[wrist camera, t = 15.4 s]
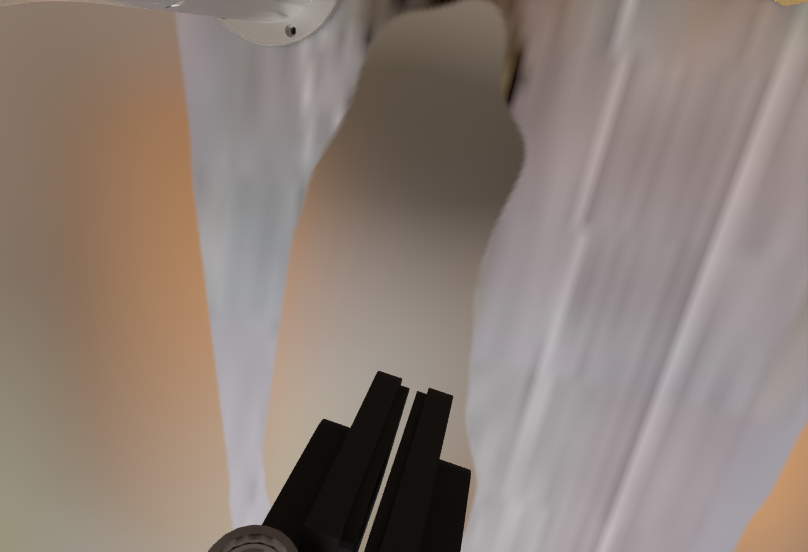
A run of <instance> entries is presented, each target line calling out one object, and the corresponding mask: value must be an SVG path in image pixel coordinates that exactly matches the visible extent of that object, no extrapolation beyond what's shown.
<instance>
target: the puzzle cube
mask: <svg viewBox="0 0 808 552" xmlns="http://www.w3.org/2000/svg"><path fill="white" fill-rule="evenodd" d="M774 1H776V2H777V3H779V4H781V5H783V6H789V5H794V4H799V3H804V2H808V0H774Z"/></svg>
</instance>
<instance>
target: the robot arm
mask: <svg viewBox="0 0 808 552" xmlns="http://www.w3.org/2000/svg"><path fill="white" fill-rule="evenodd" d="M35 1H77V2H89V3H100V4H109V5H118V6H127V7H136V8H145V9H153V10H162V11H170V12H179V13H187V14H196V15H204V16H213V17H215V18H216V19H217V20H218V21H219V22H220V23H221V24H222V25H223V26H224V27H226V28H227V29H228V30H229V31H231V32H232V33H234V34H236V35H237V36H239V37H240V38H242V39H245V40H247V41H250V42H253V43H255V44H261V45H267V46H284V45H290V44H295V43H298V42H300V41H302V40H305V39H307V38H309V37H311V36H312V35H313V34H315V33H316V32H317V31H319V30H320V29H322V27H323V26H324V25H325V24H326V23H327V22H328V21H329V20H330V19H331V17H332V16H333V14H334V13H335V11H336V9H337V8H338V6H339V4H340V3H341V1H342V0H0V7H2V6H7V5H13V4H18V3H27V2H35ZM293 28H296V34H295V35H294V34H293ZM401 382H402V378H399V377H396V376H393V375H390V374H387V373H384V372H381V371H378V372H377V374H376V376H375V378H374V380H373V382H372V384H371V387H370V388H369V391H368V393H367V395H366V397H365V399H364V401H363V403H362V405H361V407H360V409H359V411H358V413H357V416H356V418H355V420H354V422H353V424H352V426H351V428H349V427H346V426H343V425H341V424H338V423H335V422H332V421H329V420H326V419H323V420H322V421H321V422H320V424H319V425H318V427H317V429H316V431H315V432H314V434H313V436H312V437H311V439H310V441H309V443H308V445H307V446H306V448H305V450H304V452H303V453H302V455H301V457H300V459H299V460H298V462H297V464H296V466H295V467H294V469H293V471H292V473H291V474H290V476H289V478H288V480H287V481H286V483H285V485H284V487H283V489H282V490H281V492H280V494H279V496H278V497H277V499H276V501H275V503H274V505H273V506H272V508H271V510H270V511H269V513H268V515H267V517H266V518H265V520H264V522H263V524H262V525H250V526H245V527H240V528H237V529H235V530H233V531H231V532H230V533H227V534H225V535H224V536H223V537H222V538H221V539H220V540H218V541H217V542H216V543H215V544H214V545H213V546H212V547H211V548H210V550H209V551H208V552H358V550H359V547H360V544H361V542H362V539H363V536H364V533H365V530H366V527H367V524H368V521H369V518H370V515H371V512H372V510H373V507H374V504H375V501H376V498H377V495H378V492H379V489H380V486H381V483H382V479H383V477H384V473H385V470H386V466H387V463H388V460H389V456H390V453H391V450H392V446H393V443H394V439H395V436H396V433H397V429H398V426H399V423H400V419H401V416H402V413H403V409H404V406H405V403H406V399H407V396H408V393H409V388H407V387H404V386H401ZM452 400H453V396H452V395H449V394H446V393H443V392H440V391H437V390H434V389H431V388H429V389H428V392H427V394H425V393H422V392H419V391H417V393H416V396H415V400H414V402H413V405H412V409H411V411H410V415H409V418H408V421H407V424H406V427H405V430H404V433H403V436H402V439H401V442H400V445H399V448H398V451H397V454H396V457H395V460H394V463H393V466H392V469H391V472H390V475H389V478H388V481H387V484H386V487H385V490H384V493H383V496H382V499H381V502H380V505H379V508H378V511H377V514H376V517H375V520H374V523H373V526H372V529H371V532H370V535H369V538H368V541H367V544H366V547H365V551H364V552H460V550H461V543H462V536H463V529H464V522H465V514H466V507H467V500H468V493H469V486H470V478H471V470H469V469H466V468H463V467H460V466H457V465H454V464H452V463H449V462H446V461H443V460H440V459H439V458H440V454H441V449H442V445H443V440H444V436H445V432H446V427H447V423H448V418H449V414H450V409H451V404H452Z"/></svg>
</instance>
